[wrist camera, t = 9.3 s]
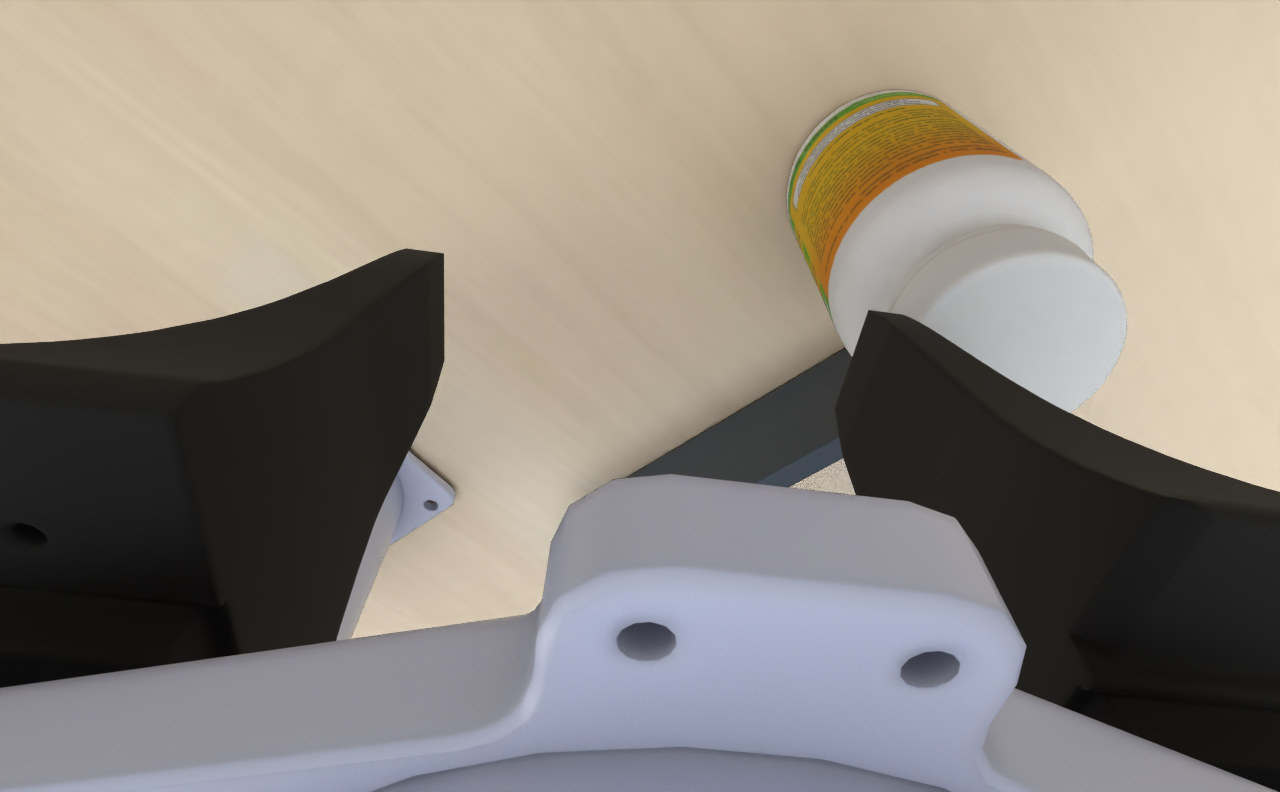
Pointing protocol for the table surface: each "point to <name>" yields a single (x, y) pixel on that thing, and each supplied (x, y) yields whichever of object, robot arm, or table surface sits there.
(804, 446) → the tray
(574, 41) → the table surface
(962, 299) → the supplement bottle
